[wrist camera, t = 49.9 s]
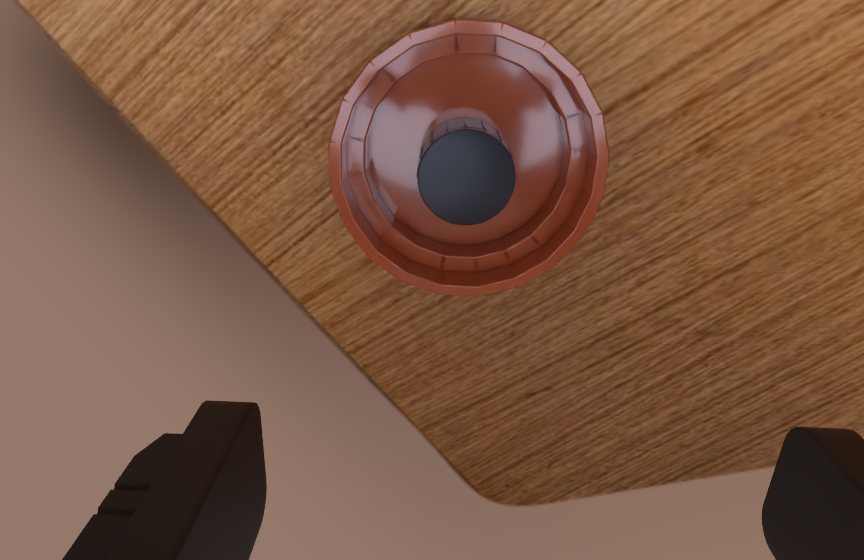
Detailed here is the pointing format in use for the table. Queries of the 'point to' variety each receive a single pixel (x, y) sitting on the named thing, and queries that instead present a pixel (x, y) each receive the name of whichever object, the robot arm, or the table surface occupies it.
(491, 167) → the cap
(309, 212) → the table surface
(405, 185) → the dish
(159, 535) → the robot arm
